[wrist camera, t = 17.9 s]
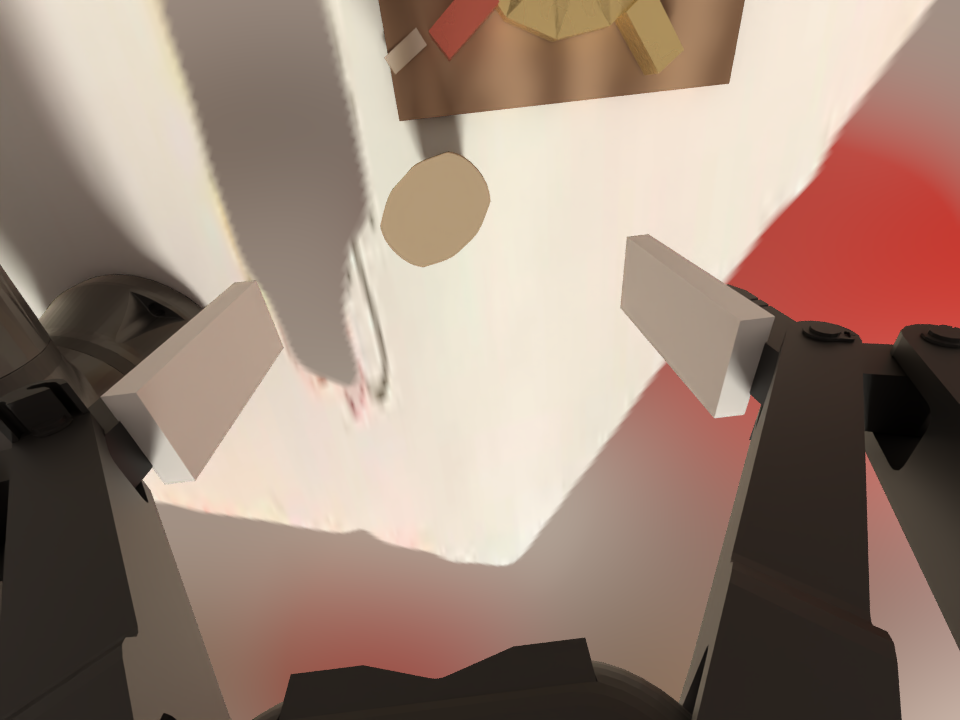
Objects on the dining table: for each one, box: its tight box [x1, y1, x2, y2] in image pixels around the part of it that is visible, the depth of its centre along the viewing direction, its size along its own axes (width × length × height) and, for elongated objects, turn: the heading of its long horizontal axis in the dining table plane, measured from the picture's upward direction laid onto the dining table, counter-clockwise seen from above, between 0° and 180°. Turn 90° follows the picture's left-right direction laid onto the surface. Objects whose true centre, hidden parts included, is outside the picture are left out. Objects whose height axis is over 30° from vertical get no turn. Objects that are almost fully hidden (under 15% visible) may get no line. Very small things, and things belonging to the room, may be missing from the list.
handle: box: [380, 151, 490, 267], centre depth 29 cm, size 5×6×15 cm
